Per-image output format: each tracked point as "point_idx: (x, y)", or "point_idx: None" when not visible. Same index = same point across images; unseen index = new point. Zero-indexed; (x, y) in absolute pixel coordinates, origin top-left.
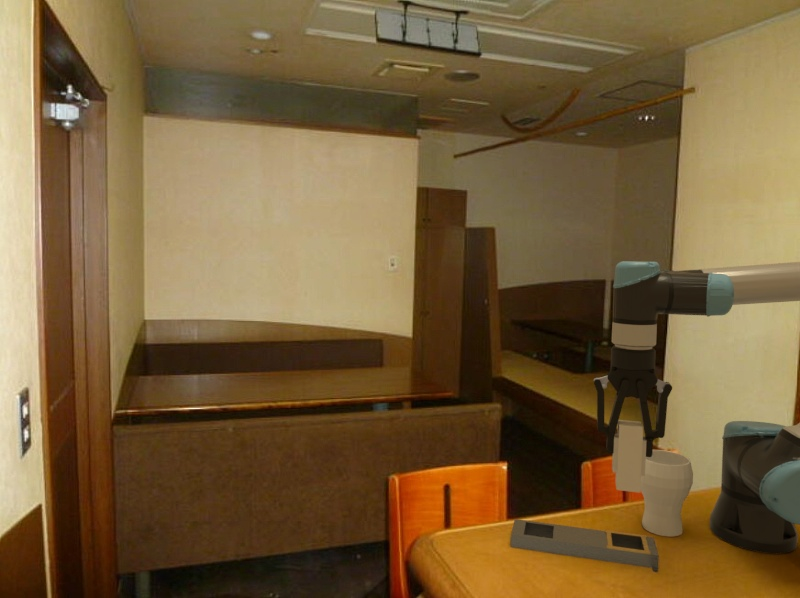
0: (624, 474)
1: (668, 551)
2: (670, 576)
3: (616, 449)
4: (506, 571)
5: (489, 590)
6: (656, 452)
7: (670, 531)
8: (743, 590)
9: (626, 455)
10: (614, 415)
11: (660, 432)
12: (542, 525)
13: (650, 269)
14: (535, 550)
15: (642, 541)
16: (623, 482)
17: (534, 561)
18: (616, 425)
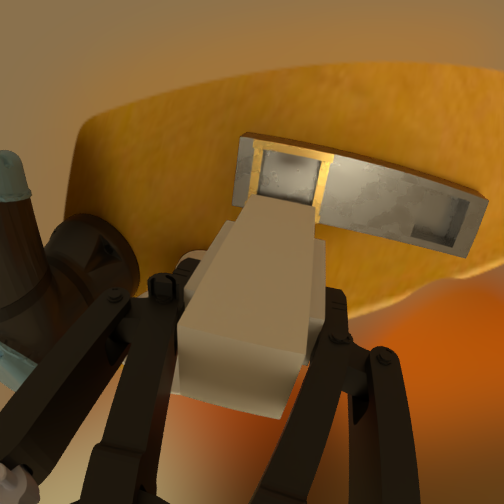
0: (292, 222)
1: (212, 203)
2: (229, 121)
3: (314, 285)
4: (494, 125)
5: None
6: (172, 388)
7: (195, 255)
8: (134, 103)
9: (280, 255)
10: (322, 415)
11: (111, 303)
12: (427, 240)
13: None
14: (446, 181)
15: (257, 184)
16: (296, 213)
17: (451, 154)
18: (313, 367)
